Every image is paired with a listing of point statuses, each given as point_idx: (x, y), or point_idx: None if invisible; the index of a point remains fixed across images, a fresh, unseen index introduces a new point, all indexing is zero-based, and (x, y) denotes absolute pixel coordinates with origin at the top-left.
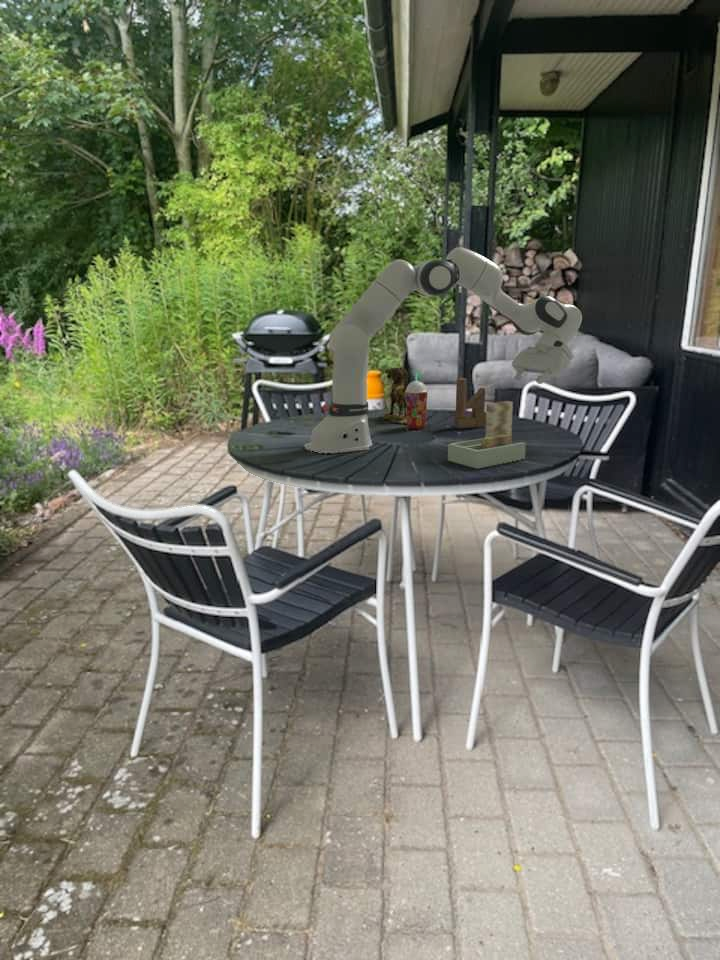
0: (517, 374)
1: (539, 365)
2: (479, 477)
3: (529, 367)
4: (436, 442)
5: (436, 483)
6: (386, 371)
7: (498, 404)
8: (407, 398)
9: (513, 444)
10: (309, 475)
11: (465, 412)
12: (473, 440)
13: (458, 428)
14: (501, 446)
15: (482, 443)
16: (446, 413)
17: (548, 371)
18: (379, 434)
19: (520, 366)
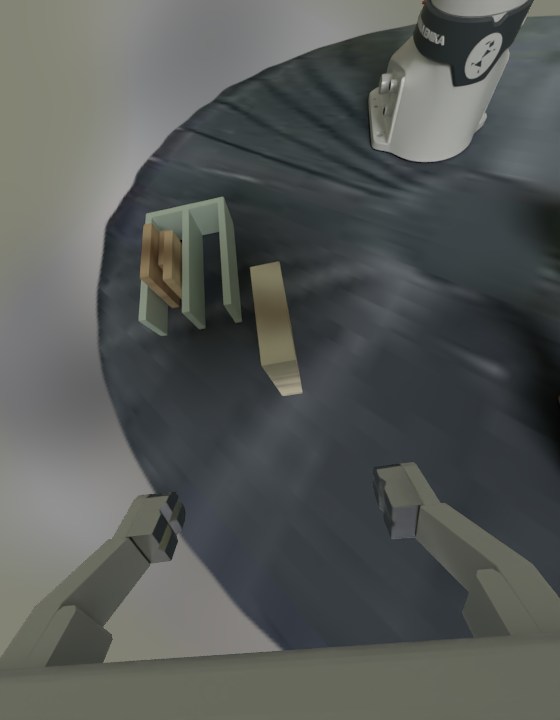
0: (419, 499)
1: (108, 715)
2: (128, 221)
3: (330, 649)
4: (386, 266)
5: (143, 171)
6: None
7: (253, 294)
8: None
9: (143, 290)
10: (262, 76)
11: None
12: (221, 245)
13: (558, 396)
14: None
15: (165, 230)
16: None
17: (17, 648)
18: (530, 198)
19: (533, 634)
